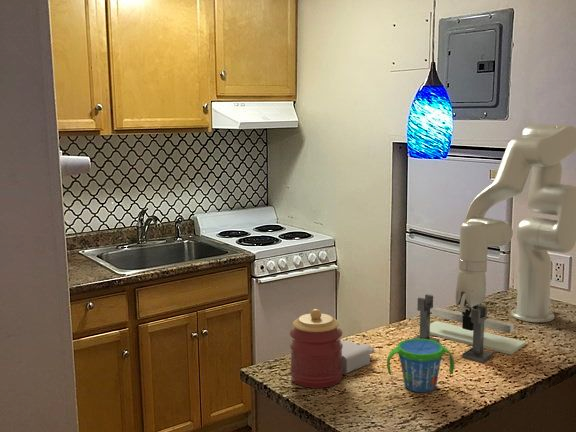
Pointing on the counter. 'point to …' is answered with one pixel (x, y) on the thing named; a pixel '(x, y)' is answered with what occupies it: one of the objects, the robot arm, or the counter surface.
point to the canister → (316, 350)
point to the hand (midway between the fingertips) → (470, 327)
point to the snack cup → (420, 363)
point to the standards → (476, 318)
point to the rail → (487, 323)
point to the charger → (355, 356)
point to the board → (466, 337)
